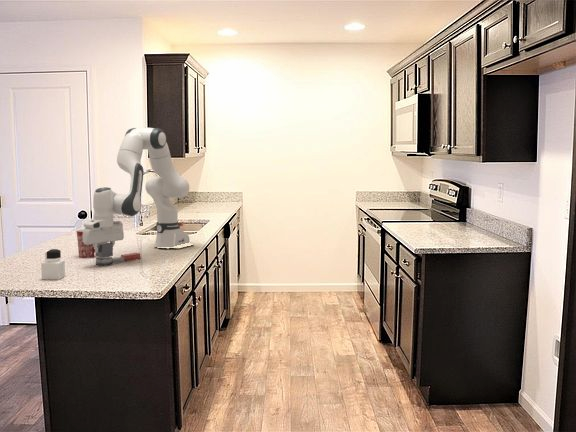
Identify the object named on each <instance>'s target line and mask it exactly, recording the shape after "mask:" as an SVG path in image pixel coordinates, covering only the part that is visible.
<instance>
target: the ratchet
mask: <svg viewBox="0 0 576 432" xmlns="http://www.w3.org/2000/svg"><path fill="white" fill-rule="evenodd" d="M136 259H138V260H141V253H139V252H132V253H125V254H121V255H120V256H115V257H113V256H110V257H103V258H102V257H98V256H96V257H95V266H99V267H108V266H112V265H113V264H118V263H124V262H131V261H136Z"/></svg>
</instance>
